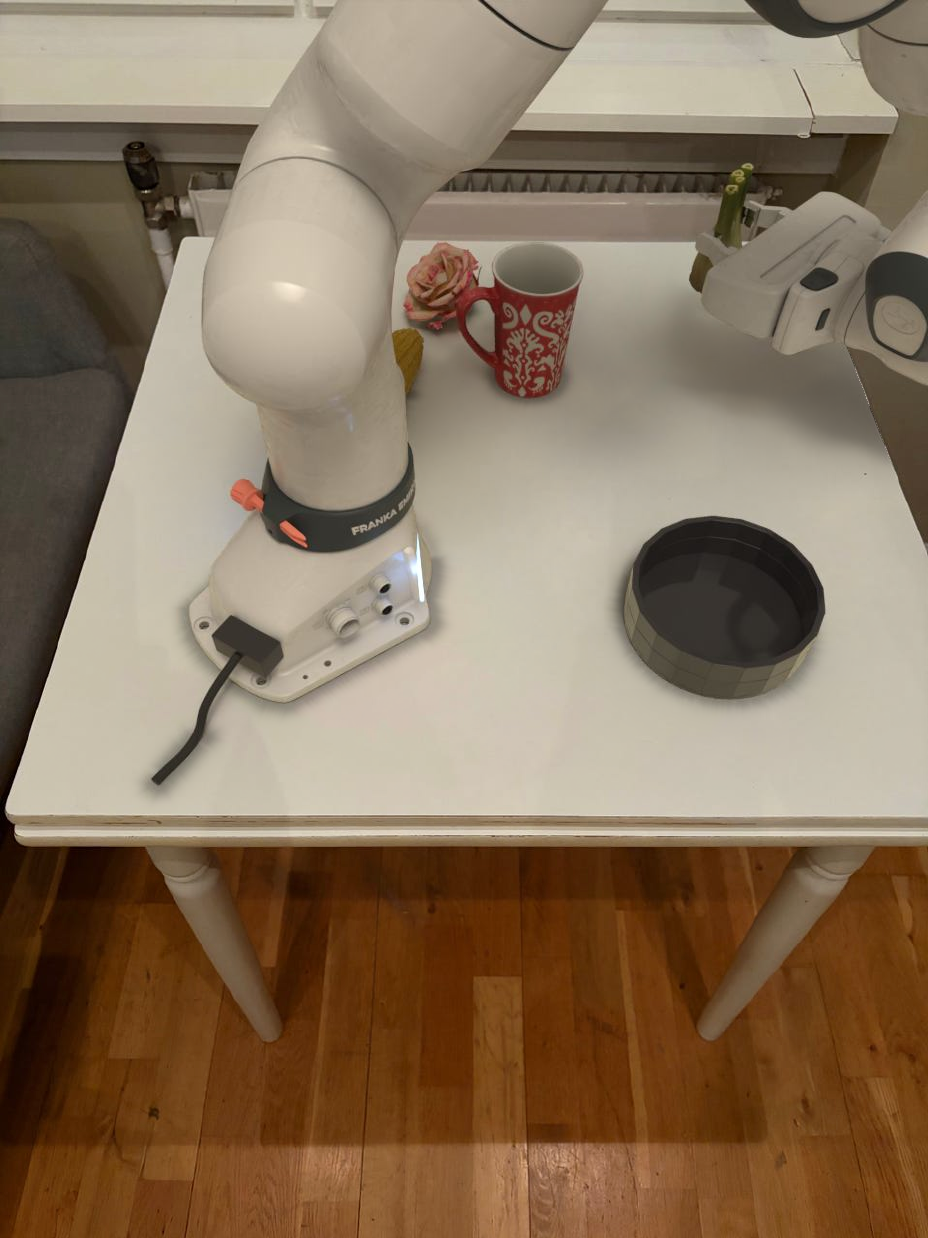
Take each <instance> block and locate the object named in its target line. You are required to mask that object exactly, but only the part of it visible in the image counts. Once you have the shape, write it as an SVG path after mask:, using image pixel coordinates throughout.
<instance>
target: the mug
mask: <svg viewBox="0 0 928 1238" xmlns="http://www.w3.org/2000/svg"><path fill="white" fill-rule="evenodd" d="M491 272H492V275H493V286H490V287H489V286H478V287H473V288H471V289H469V290H467V291H466V292H464V293H463V294H462V295H461V297H460V298H459V301H458V303H457V308H456V316H455V318H456V323H457V327H458V329H459V332H460V334H461V336H462V337H463V339H464V340H465V342H466V343H467V345H468V346H469V348H470V349H472V351H473V352H474V353H475V354H476V355H477V356H478V357H479V358H480V359H481V360H482V361H483V362H485V363H486V364H487V365H488V366H489V367H490V368H491V369H493V371H494V372H493V373H494V379H495V381H496V383H497V385H498V386H499V387H500V388H501V390H503V391H505V392H506V393H508V394H510V395H512V396H516V397H519V398H526V399H530V398H532V399H533V398H535V399H536V398H540V397H544V396H547V395H549V394H551V393H552V392H554V391H555V390H556V389H557V388H558V386H559V385H560V382H561V379H562V374H563V368H564V364H565V358H566V354H567V349H568V344H569V340H570V333H571V330H572V324H573V321H574V320H573V318H574V314H575V310H576V305H577V299H578V294H579V290H580V285H581V284H582V282H583V279H584V267H583V264H582V262H581V260H580V259H579V257H577V256H576V255H575V254H574V253H573V252H571V251H570V250H568V249H567V248H564V247H563V246H560V245H557V244H554V243H549V242H542V241H526V242H520V243H515V244H512V245H509V246H507V247H504V248H503V249H501V250H500V251H499V252H498V253H497V254H496V255H495V256H494V257H493V260H492V263H491ZM479 301H486V302H487V303H488V304H489V306H490V309H491V311H492V313H493V316H494V317H493V318H494V319H493V321H494V323H493V324H494V325H493V327H494V330H493V331H494V332H493V333H494V335H493V336H494V350H493V351H488V350H487V349H486V348H484V347H483V346H482V345H481V344H480V343H479V342H478V341H477V340H476V339H475V338H474V337H473V336H472V334H471V333H470V331H469V329H468V326H467V314H468V312H469V311H468V309H469V308H470V307H471V305H472V306H473V304H475V303H476V302H479Z"/></svg>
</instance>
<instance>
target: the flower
mask: <svg viewBox="0 0 928 1238" xmlns="http://www.w3.org/2000/svg"><path fill="white" fill-rule="evenodd" d="M478 263H479V261H478V260H476V257H475V256H474V255H473V253H472V252H471V251H470V249H464V248H461V247H457V246H455V245H452V244H450V243H448V242H445V241H444V242H436V244H435V245H434V246H433V248H432V249H431V250H430V252H429V253H428V254H425V255H423V256H421V257H420V259H419V262H418V263H416V264H415V265H413V266H412V267H411V268H410V270H409V271H408V273H407V275H406V283H407V285H408V287H409V290H408V293H407V295H406V298H405V301H404V303H403V305H402V307H403V308H405V309H406V310H404V311H405V314H406V315H407V316H408V318H409V320H413V321H419V322H425V321H429V320H432V319H434V318H435V317H436V316H440V317H441V320H439V321H438V320H437V321H435V320H434V321H430V323H428V324H427V325H426V327H427V329H432V330H434V329H436V330H440V329H443V324H444V323H445V322H448V321H449V320H451V319H453V318H456V308H457V303H458V301H459V298H460V297H461V295H462V294H463V293H464V292H466V291H467V290H469V289H471V288H473V287H479V285H480V281H479V279H480V274H481V270H482V267H480V266H479V264H478ZM474 271H478V272H477V273H478V276H477V277H476V275H475V272H474ZM473 308H474V306H473V304H472V305H471V307H470V308H469V309H468V311H467V312H469V311H472V310H473Z"/></svg>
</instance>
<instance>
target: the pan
mask: <svg viewBox="0 0 928 1238" xmlns="http://www.w3.org/2000/svg"><path fill="white" fill-rule="evenodd" d="M624 597H625V598H624V605H623V617H624V618H623V620H624V627H625V631H626V633H627V636H628V639H629V641H630V644H631V645H632V647H633V649H634V651H635V652H636V653H637V654H638V656H639V658H640V659H641V660H642V661H643V662H644V663H645V664H646V665H647V667H648V668H650V669H651V670H652V671H653V672H654V673H655V674H656V675H657V676H659V677H660V678H662V679H663V680H665V681H667V682H668V683H670V684H671V685H673V686H675V687H677V688H679V689H680V690H681V689H682V690H684V691H686V692H689V693H691V694H695V695H698V696H702V697H706V698H713V699H720V700H721V699H722V700H741V699H742V700H743V699H749V698H753V697H757V696H759V695H763V694H766V693H768V692H770V691H773V690H775V689H776V688H778V687H779V686H781V685H782V684H784V683H785V682H786V681H787V680H789V678H791V677H792V676H793V674H795V672H796V671H797V670H798V669H799V667H800V666H801V665H802V664H803V662H804V660H805V658H806V657H807V654H808V653H809V651H810V649H811V647H812V646H813V644H814V643H815V640H816V639H817V637H818V635H819V632H820V630H821V627H822V624H823V621H824V617H825V616H826V613H827V612H826V611H827V610H826V601H825V600H826V599H825V588H824V585H823V584H822V582H821V580H820V578H819V575H818V573H817V571H816V570H815V567H814V566H813V564H812V562H810V560H809V559H807V557H806V556H805V555H804V554H803V553H802V551H801V550H799V548H797V547H796V545H794V543H792V542H791V541H789V540H788V539H786V538H785V537H783V536H782V535H780V534H778V533H777V532H775V531H773V530H772V529H771V528H768V527H766V526H763V525H760V524H757V523H754V522H751V521H748V520H745V519H742V518H738V517H728V516H721V515H706V516H698V517H697V516H696V517H687V518H684V519H682V520H679V521H676V522H673V523H671V524H669V525H666V526H664V527H662V528H660V529H659V530H658V531H657V532H656V533H654V534H653V535H652V536H651V537H650V538H649V539H648V540H646V541H645V542H644V543H643V544H642V546H641V548H640V550H639V552H638V554H637V556H636V557H635V559H634V562H633V564H632V568H631V572H630V576H629V579H628V584H627V588H626V592H625V596H624Z"/></svg>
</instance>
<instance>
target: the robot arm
mask: <svg viewBox="0 0 928 1238" xmlns="http://www.w3.org/2000/svg"><path fill="white" fill-rule="evenodd" d="M743 1H744V2H745V3H746V4H747V5H748V6H749V7H750V9H752V10H753V11H754V12H755V13H756V14H757V15H759V16H760V17H761V18H762V19H763V20H764V21H766V22H767V23H769V24H770V25H771V26H773V27H774V28H776V29H778V30H779V31H781V32H783V33H785V34H786V35H789V36H792V37H795V38H800V39H820V38H821V39H822V38H829V37H833V36H838V35H841V34H845V33H848V32H851V31H854V30H855V33H856V34H855V37H856V44H857V51H858V55H859V60H860V63H861V67H862V69H863V72H864V75H865V77H866V79H867V81H868V83H869V86H870V87H871V88H872V90H873V91H874V92H875V93H876V94H877V95H878V96H879V97H880V98H882V100H884V101H885V102H887V103H888V104H889V105H891V106H892V107H894V108H896V109H897V110H900V111H901V112H904V113H906V114H909V115H912V116H916V117H919V118H926V119H928V0H743ZM608 2H609V0H336V2H335V3H334V5H333V7H332V9H331V10H330V13H329V14H328V16H327V18H326V19H325V21H324V23H323V24H322V26H321V28H320V30H319V31H318V32H317V33H316V35H315V37H314V38H313V39H312V41H311V43H310V44H309V45H308V46H307V48H306V49H305V51H304V53H303V54H302V55H301V56H300V58H299V60H298V61H297V63H296V64H295V66H294V68H293V69H292V71H291V72H290V74H288V77H287V78H286V80H285V81H284V83H283V85H282V86H281V88H280V89H279V91H278V93H277V94H276V96H275V97H274V99H273V101H272V102H271V103H270V106H269V108H268V109H267V111H266V112H265V114H264V115H263V118H262V119H261V121H260V122H259V124H258V125H257V128H256V129H255V131H254V132H253V135H252V136H251V138H250V140H249V141H248V143H247V145H246V148H245V150H244V154H243V155H242V156H243V157H242V159H241V162H240V165H239V168H238V171H237V174H236V177H235V180H234V182H233V185H232V188H231V191H230V194H229V197H228V200H227V203H226V205H225V207H224V210H223V213H222V215H221V219H220V222H219V225H218V227H217V230H216V234H215V237H214V240H213V242H212V245H211V248H210V251H209V254H208V257H207V260H206V262H205V265H204V270H203V274H202V275H203V276H202V277H203V278H202V288H201V343H202V347H203V350H204V354H205V356H206V359H207V361H208V362H209V364H210V366H211V368H212V369H213V371H214V372H215V374H217V376H218V378H219V379H220V380H221V381H222V382H223V383H224V384H225V386H227V387H228V388H230V389H231V390H232V391H233V392H235V393H236V394H237V395H239V396H240V397H242V398H243V399H245V400H247V401H249V402H251V403H253V404H255V407H256V410H257V415H258V417H259V418H258V419H259V423H260V427H261V432H262V436H263V441H264V446H265V450H266V454H267V459H266V464H265V467H264V471H263V477H262V482H261V488H260V489H259V488H257V487H256V486H255V485H254V484H253V482H252V481H251V480H249V479H247V478H241V479H239V480H237V481H236V482H234V484H233V485H232V486H231V488H230V491H229V493H230V495H229V496H230V497H231V499H232V500H233V501H234V502H235V503H237V504H239V505H241V506H242V508H243V509H244V511H246V512H250V513H249V514H248V516H247V517H246V518H245V520H244V521H243V522H242V524H241V525H240V527H239V528H238V529H237V530H236V532H235V533H234V535H233V536H232V537H231V539H229V541H228V542H227V544H226V545H225V546H224V548H223V549H222V551H221V552H220V554H218V556H217V557H216V559H215V560H214V561H213V563H212V565H211V567H210V570H209V571H210V572H209V579H208V580H209V581H208V585H207V586H206V587H205V589H204V588H203V590H202V591H201V592H200V593H199V594H198V595H197V596H196V597H195V598H194V599H193V600H192V601H191V602H190V604H189V607H188V615H189V623H190V627H191V630H192V633H193V635H194V637H195V640H196V642H197V644H198V645H199V646H200V648H201V650H202V651H203V652H204V653H205V655H206V656H207V658H208V659H209V660H211V662H212V663H213V664H214V665H215V666H216V667H217V668H218V669H219V670H220V672H219V674H218V675H217V676H216V678H215V679H214V681H213V682H212V684H211V685H210V687H209V688H208V690H207V692H206V694H205V696H204V698H203V699H202V701H201V704H200V706H199V709H198V713H197V716H196V723H195V726H194V729H193V732H192V734H191V735H190V737H189V738H188V740H187V741H186V742H185V744H184V745H183V747H182V748H181V749H179V751H178V752H177V753H176V754H175V755H174V756H173V757H172V758H171V759H170V760H169V761H168V762H167V763H165V764H164V765H163V766H162V767H161V768H160V769H159V770H158V771H157V772H156V773H155V774H154V775H153V776H152V777H151V778H150V780H151V781H152V782H153V783H154V784H155V785H157V786H158V785H160V784H161V783H162V782H163V780H165V778H166V777H168V776H169V775H170V774H171V773H172V772H173V771H174V770H176V769H177V767H178V766H179V765H180V764H181V763H183V761H185V760H186V758H187V757H188V756H189V755H190V754H191V753H192V751H193V750H194V749H195V747H196V746H197V745H198V743H199V742H200V740H201V738H202V736H203V734H204V731H205V727H206V722H207V718H208V713H209V711H210V709H211V706H212V705H213V702H214V700H215V698H216V697H217V695H218V694H219V691H220V690H221V689H222V687H223V686H224V684H225V682H226V681H227V680H228V679H230V680H231V681H232V682H234V683H235V684H236V685H238V686H239V687H240V688H242V689H244V690H245V691H247V692H249V693H251V694H252V695H255V696H257V697H258V698H259V697H260V698H262V699H265V700H267V701H272V702H276V703H282V704H285V703H287V704H288V703H290V702H292V701H295V700H297V699H298V698H300V697H302V696H304V695H306V694H308V693H309V692H311V691H314V690H316V689H317V688H319V687H321V686H322V685H325V684H327V683H328V682H330V681H332V680H334V679H336V678H337V677H339V676H342V675H343V674H345V673H347V672H349V671H351V670H353V669H355V668H356V667H358V666H359V665H361V664H363V663H365V662H367V661H369V660H371V659H372V658H374V657H376V656H378V655H380V654H382V653H384V652H385V651H387V650H389V649H391V648H393V647H395V646H397V645H399V644H400V643H402V642H405V641H407V640H408V639H410V638H412V637H413V636H416V635H417V634H419V633H421V632H423V631H424V630H426V629H427V628H428V627H429V625H430V622H431V612H430V608H429V604H428V599H427V596H428V591H429V588H430V584H431V580H432V574H433V573H432V572H433V561H432V558H431V553H430V551H429V548H428V546H427V544H426V542H425V540H424V539H423V536H422V534H421V532H420V531H421V530H420V528H419V525H418V522H417V516H416V513H415V508H414V500H415V496H416V484H417V482H416V472H415V461H414V453H413V449H412V447H411V445H410V442H409V440H408V425H407V424H408V422H407V421H408V420H407V403H406V399H405V380H404V376H403V373H402V371H401V369H400V367H399V366H398V364H397V363H396V358H395V352H394V346H393V337H392V333H393V325H392V321H393V320H392V318H393V317H392V315H393V314H392V313H393V312H392V310H393V295H394V286H395V285H394V284H395V275H396V266H397V261H398V258H399V253H400V251H401V248H402V245H403V243H404V240H405V237H406V235H407V232H408V230H409V228H410V226H411V224H412V222H413V220H414V218H415V217H416V215H417V213H419V211H420V209H421V208H422V207H423V205H424V204H425V203H426V202H427V201H428V200H429V199H430V198H431V197H432V196H433V195H434V194H435V193H437V192H438V191H439V190H440V189H442V187H443V186H445V185H446V184H447V183H448V182H449V181H451V180H452V179H453V178H454V177H455V176H457V175H458V174H459V173H461V172H468V171H472V170H474V169H477V168H478V167H480V166H482V165H483V164H485V162H487V161H488V160H489V159H490V158H491V157H492V155H493V154H494V153H495V151H496V150H497V148H499V146H500V144H502V142H503V141H504V140H505V138H506V137H507V135H509V133H510V132H511V131H512V130H513V128H514V127H515V125H517V123H518V121H520V119H521V118H522V117H523V115H524V113H525V112H526V111H527V110H528V108H529V107H530V106H531V105H532V104H533V102H534V101H535V100H536V99H537V97H538V96H539V94H540V93H541V92H542V91H543V89H544V88H545V86H546V85H547V84H548V83H549V82H550V80H551V79H552V77H554V75H555V74H556V73H557V71H558V70H559V69H560V67H561V66H562V65H563V63H564V62H565V61H566V59H567V58H568V57H569V55H570V54H571V53H572V52H573V50H574V49H575V47H576V46H577V45H578V43H579V42H580V41H581V39H582V38H583V37H584V35H585V34H586V33H587V31H588V30H589V29H590V28H591V26H592V24H593V23H594V22H595V20H597V18H598V17H599V15H600V14H601V12H602V11H603V9H604V8H605V6H606V5H607V4H608ZM740 224H741V225H744V227H746V228H748V229H752V228H754V227H755V226H756V227H760V228H765V229H764V231H762V232H761V233H759V234H758V235H756V236H755V237H753V238H752V239H751V240H749V241H748V242H746V243H745V244H744V245H742V247H741V248H740V249H737V248H735V247H733V246H730V247H728V248H726V247H725V245H724V244H723V243H722V242H721V238H722V234H721V233H719V232H716V231H713V228H707V229H706V230H704V231H702V232H700V233H699V234H698V235H697V236H696V241H695V244H694V248H695V250H696V252H697V253H698V252H700V253H702V254H703V255H705V256H707V257H709V259H710V261H711V263H712V264H713V266H714V267H712V268H711V269H710V270H709V271H708V272H707V275H706V278H705V282H704V285H703V290H702V294H701V293H700V294H701V295H700V302H701V305H702V306H703V309H704V310H705V311H706V312H707V313H708V314H710V315H711V316H713V317H714V318H716V319H718V320H720V321H721V322H723V323H725V324H726V325H729V326H730V327H732V328H734V329H736V330H738V331H741V332H742V333H744V334H747V335H749V336H751V337H755V338H758V339H770V338H772V341H771V347H772V349H774V350H775V351H776V352H778V353H780V354H782V355H785V356H791V355H794V354H797V353H799V352H800V353H801V352H802V351H806V350H808V349H811V348H815V347H819V346H824V345H830V344H833V343H835V342H838V343H840V344H842V345H844V346H846V347H848V348H851V349H854V350H858V351H859V350H860V351H864V352H867V353H870V354H871V355H873V356H875V357H876V358H878V359H879V360H880V361H881V362H882V363H883V364H884V365H885V366H886V367H887V368H888V369H890V370H892V371H894V372H895V373H898V374H900V375H902V376H903V377H905V378H908V379H910V380H912V381H914V382H916V383H919V384H921V385H923V386H925V387H928V188H927V189H926V190H925V191H924V193H923V194H922V195H921V197H920V198H919V199H918V200H917V201H916V203H915V204H914V205H913V206H912V208H911V209H910V210H909V211H908V213H906V215H904V217H903V218H902V219H901V221H900V222H899V223H898V224H897V225H896V226H895V228H894V229H893V231H892V230H890V229H889V228H887V227H884V226H882V223H881V221H880V219H879V218H878V217H877V216H876V215H875V214H874V213H872V212H871V211H869V210H868V209H866V208H864V207H863V206H861V205H859V204H858V203H856V202H854V201H853V200H850V199H848V198H846V197H845V196H843V195H841V194H839V193H838V192H833V191H820V192H818V193H816V194H815V195H813V196H812V197H810V198H809V199H807V201H805V202H803V203H802V204H801V205H799V206H797V207H796V208H795V209H793V210H792V209H791V208H788V207H786V206H776V205H763V204H761V203H759V202H757V201H754V200H748V201H747V202H744V206H743V210H742V214H741V220H740ZM403 623H407V624H403ZM204 627H207V628H204ZM261 682H265V683H263V684H259V683H261Z"/></svg>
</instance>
